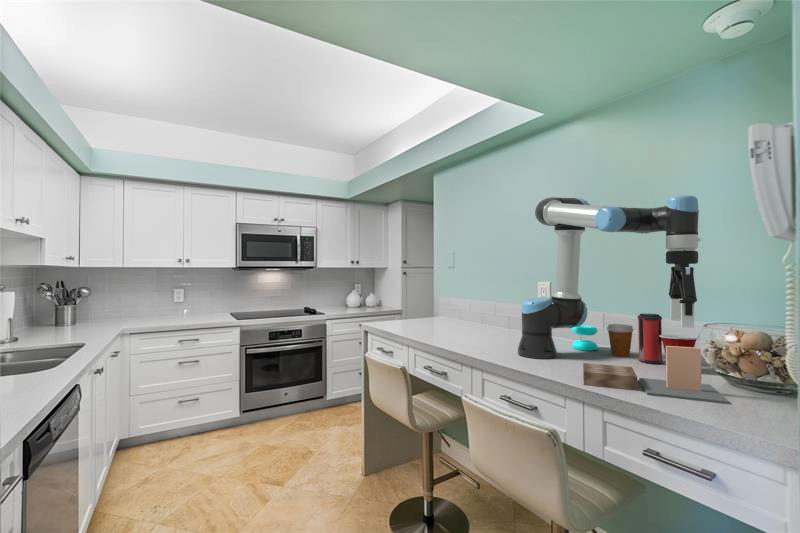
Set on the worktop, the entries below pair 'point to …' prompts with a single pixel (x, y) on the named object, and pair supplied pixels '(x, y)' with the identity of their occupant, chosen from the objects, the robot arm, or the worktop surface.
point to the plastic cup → (678, 341)
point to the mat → (681, 391)
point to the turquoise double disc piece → (585, 344)
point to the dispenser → (609, 376)
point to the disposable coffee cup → (620, 339)
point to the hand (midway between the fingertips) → (681, 323)
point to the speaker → (650, 338)
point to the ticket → (683, 368)
